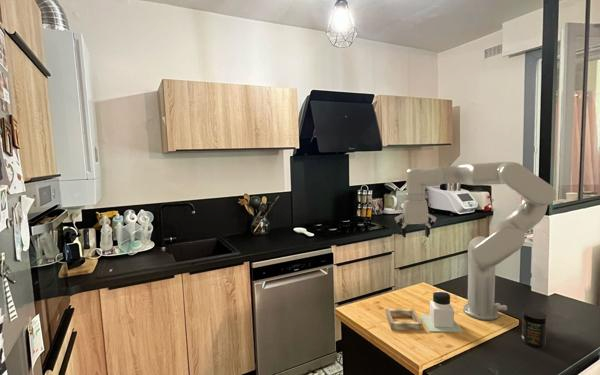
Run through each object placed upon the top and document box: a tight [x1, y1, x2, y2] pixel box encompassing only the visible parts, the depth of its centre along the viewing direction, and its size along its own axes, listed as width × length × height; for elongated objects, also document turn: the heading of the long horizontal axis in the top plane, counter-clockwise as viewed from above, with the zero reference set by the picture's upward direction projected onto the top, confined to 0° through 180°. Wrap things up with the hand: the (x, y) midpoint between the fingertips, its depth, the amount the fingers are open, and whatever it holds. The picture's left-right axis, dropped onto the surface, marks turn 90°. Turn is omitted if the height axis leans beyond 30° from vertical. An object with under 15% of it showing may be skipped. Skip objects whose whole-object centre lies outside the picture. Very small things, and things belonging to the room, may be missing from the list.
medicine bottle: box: [429, 290, 455, 328], centre depth 125 cm, size 7×7×12 cm
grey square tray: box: [385, 308, 423, 331], centre depth 127 cm, size 11×11×2 cm
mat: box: [419, 314, 464, 333], centre depth 125 cm, size 12×12×1 cm
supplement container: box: [521, 309, 548, 349], centre depth 110 cm, size 7×7×10 cm
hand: (415, 236), depth 140 cm, fingers open, 9 cm apart
